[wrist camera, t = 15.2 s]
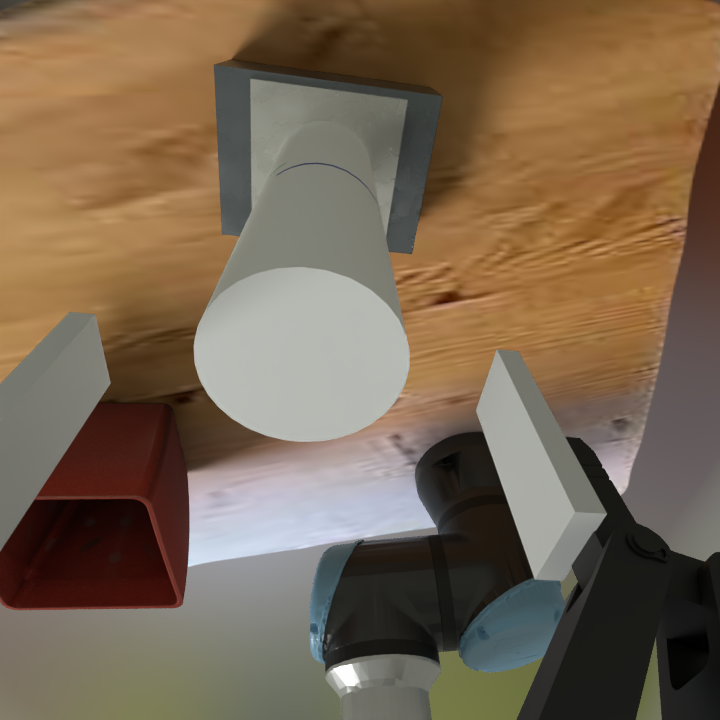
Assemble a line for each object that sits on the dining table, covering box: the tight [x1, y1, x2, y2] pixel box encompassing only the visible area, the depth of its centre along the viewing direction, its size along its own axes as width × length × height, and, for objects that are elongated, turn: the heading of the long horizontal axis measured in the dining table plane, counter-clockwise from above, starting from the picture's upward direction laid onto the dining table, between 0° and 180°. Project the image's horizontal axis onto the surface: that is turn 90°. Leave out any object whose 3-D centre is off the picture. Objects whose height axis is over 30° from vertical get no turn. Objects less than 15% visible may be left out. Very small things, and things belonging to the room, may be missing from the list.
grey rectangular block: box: [214, 60, 443, 254], centre depth 39 cm, size 16×12×6 cm
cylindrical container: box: [194, 120, 410, 442], centre depth 26 cm, size 7×7×25 cm
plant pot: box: [0, 403, 189, 610], centre depth 54 cm, size 19×19×17 cm
